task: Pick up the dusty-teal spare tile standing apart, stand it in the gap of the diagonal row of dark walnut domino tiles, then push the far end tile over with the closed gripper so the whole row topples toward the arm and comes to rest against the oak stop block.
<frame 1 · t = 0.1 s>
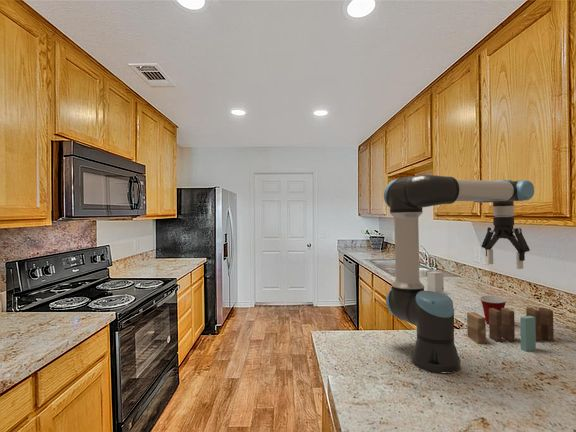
hand: (504, 266, 143), 28 cm above the countertop, fingers open, 13 cm apart
domino 2: (508, 339, 135), on the countertop
domino 1: (495, 339, 135), on the countertop
domino 5: (546, 339, 134), on the countertop
domino 4: (533, 339, 134), on the countertop
stop block: (476, 340, 135), on the countertop
plastic cup: (493, 324, 154), on the countertop
skincare box: (435, 296, 208), on the countertop
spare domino: (528, 349, 125), on the countertop
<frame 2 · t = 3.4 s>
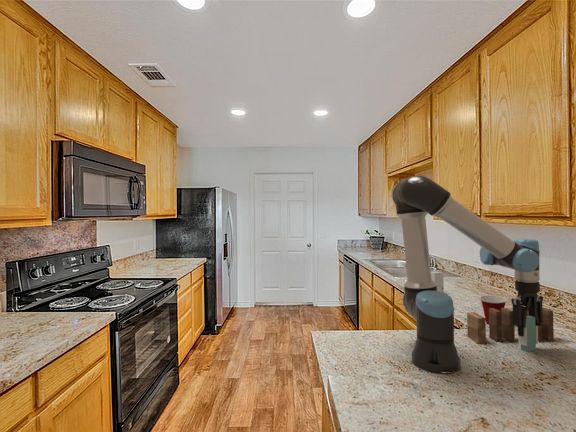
hand: (528, 343, 125), 2 cm above the countertop, fingers closed on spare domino, 5 cm apart
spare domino: (528, 349, 125), on the countertop, touching gripper
everything else where it was.
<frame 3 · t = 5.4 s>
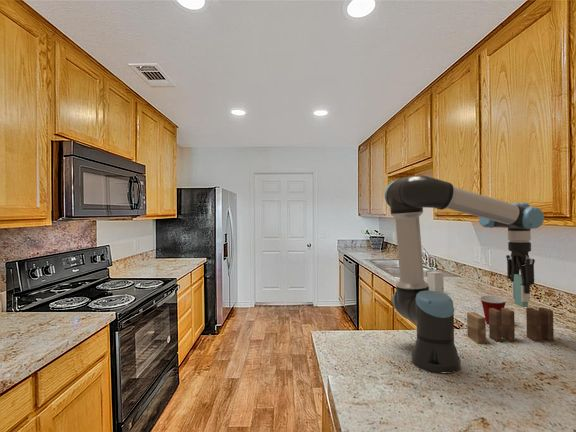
hand: (520, 299, 134), 16 cm above the countertop, fingers closed on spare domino, 5 cm apart
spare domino: (521, 305, 134), point 14 cm above the countertop, touching gripper
everything else where it was.
when the fingers open (3 cm above the countertop, at t = 7.5 s): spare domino stays where it is, on the countertop.
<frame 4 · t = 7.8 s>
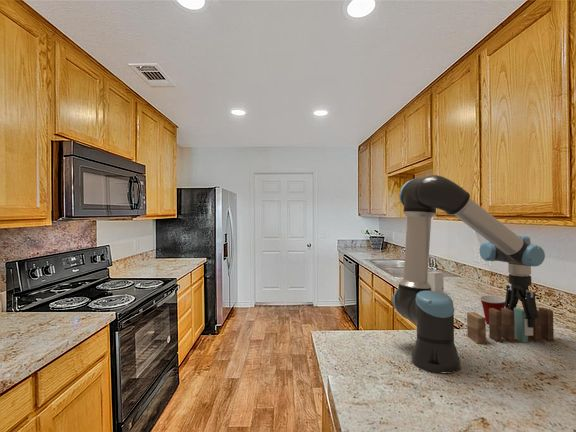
hand: (520, 330, 135), 3 cm above the countertop, fingers open, 9 cm apart
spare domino: (521, 339, 135), on the countertop
everything else where it was.
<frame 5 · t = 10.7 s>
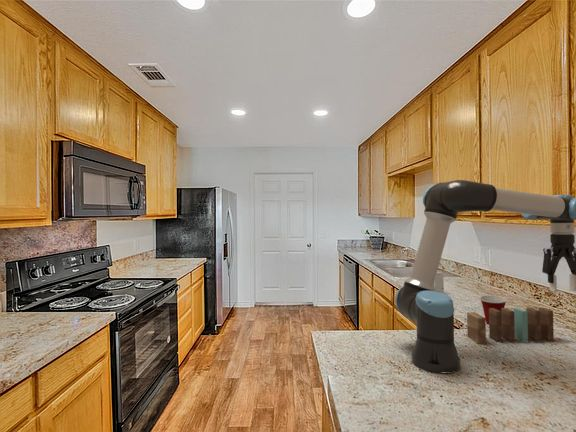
hand: (563, 291, 134), 19 cm above the countertop, fingers open, 7 cm apart
nothing on the countertop moved.
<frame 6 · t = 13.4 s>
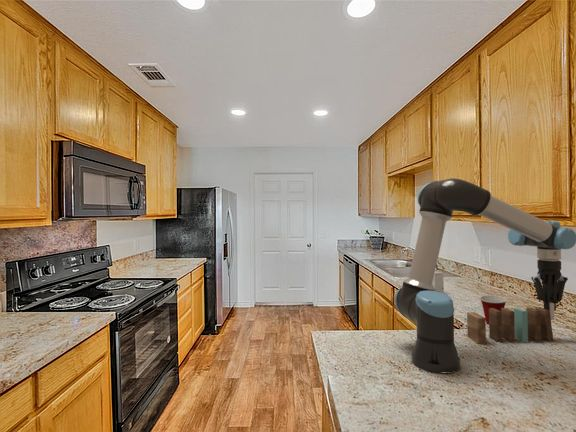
hand: (549, 318, 134), 8 cm above the countertop, fingers closed
domino 5: (546, 339, 134), on the countertop, tilted 7°
everything else where it was.
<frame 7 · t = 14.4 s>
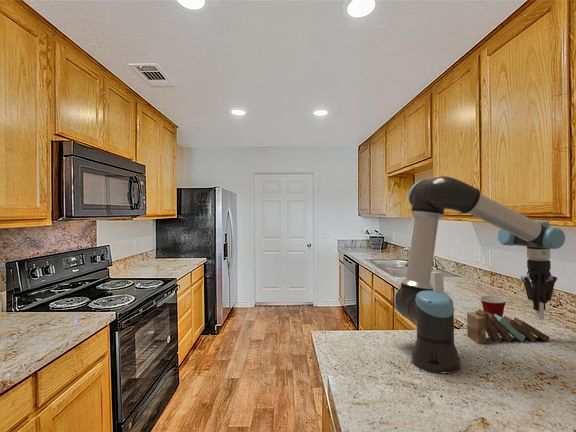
hand: (539, 318, 134), 8 cm above the countertop, fingers closed
domino 2: (507, 338, 135), point 1 cm above the countertop, tilted 38°, touching domino 1, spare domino
domino 1: (495, 338, 135), on the countertop, tilted 27°, touching domino 2, stop block
domino 5: (543, 337, 134), point 1 cm above the countertop, tilted 58°, touching domino 4
domino 4: (531, 337, 134), point 1 cm above the countertop, tilted 53°, touching domino 5, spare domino
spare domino: (519, 337, 135), point 1 cm above the countertop, tilted 47°, touching domino 2, domino 4
everything else where it was.
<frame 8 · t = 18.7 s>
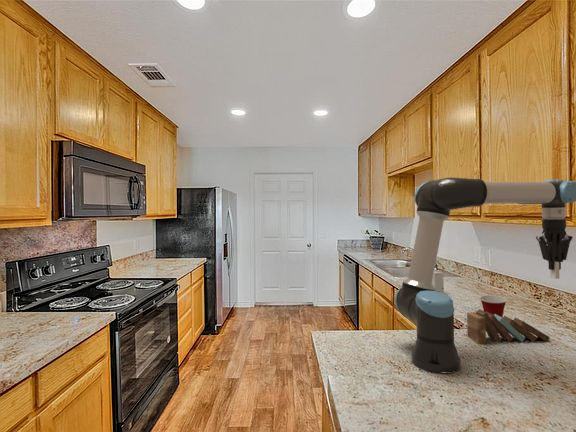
hand: (554, 277, 134), 24 cm above the countertop, fingers closed
nothing on the countertop moved.
at the end: domino 1 tilted 27°; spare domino tilted 47°; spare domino inside the target area (0.8 cm from its centre), point 0.7 cm above the countertop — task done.
